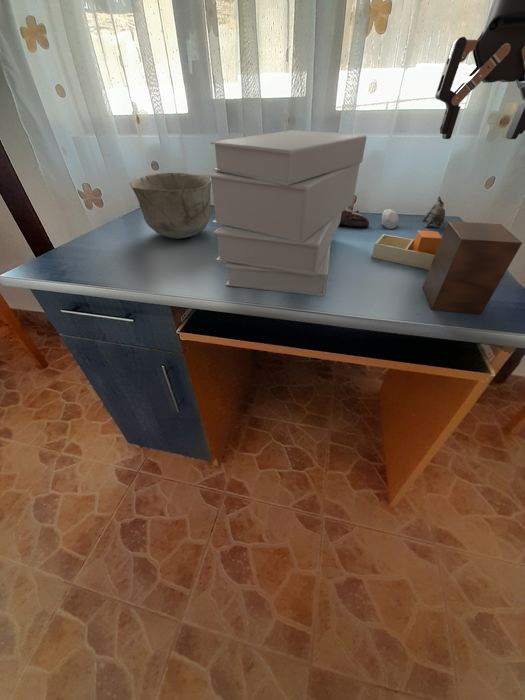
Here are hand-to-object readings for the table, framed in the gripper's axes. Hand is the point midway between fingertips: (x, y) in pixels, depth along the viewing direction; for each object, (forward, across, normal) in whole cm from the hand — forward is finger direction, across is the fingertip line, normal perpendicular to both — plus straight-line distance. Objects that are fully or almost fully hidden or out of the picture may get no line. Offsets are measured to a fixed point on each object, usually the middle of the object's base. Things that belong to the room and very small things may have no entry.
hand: (477, 138), depth 43 cm
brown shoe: (+27, -14, +44) cm, 53 cm away
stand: (+27, +6, +2) cm, 28 cm away
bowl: (+26, -64, +25) cm, 73 cm away
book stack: (+27, -30, +14) cm, 43 cm away
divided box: (+27, +4, +20) cm, 34 cm away
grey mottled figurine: (+27, +12, +48) cm, 56 cm away
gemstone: (+27, -2, +45) cm, 52 cm away
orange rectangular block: (+26, +4, +20) cm, 33 cm away
